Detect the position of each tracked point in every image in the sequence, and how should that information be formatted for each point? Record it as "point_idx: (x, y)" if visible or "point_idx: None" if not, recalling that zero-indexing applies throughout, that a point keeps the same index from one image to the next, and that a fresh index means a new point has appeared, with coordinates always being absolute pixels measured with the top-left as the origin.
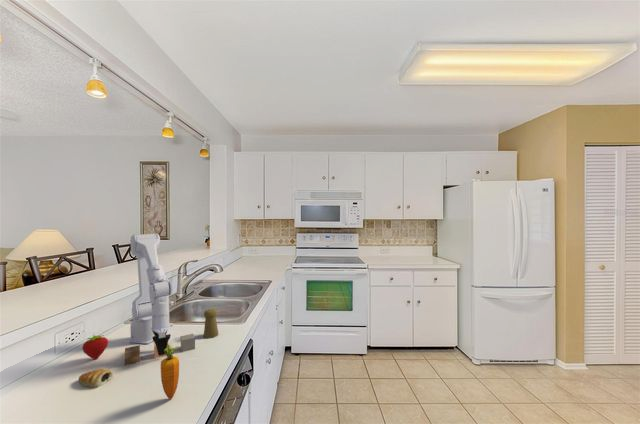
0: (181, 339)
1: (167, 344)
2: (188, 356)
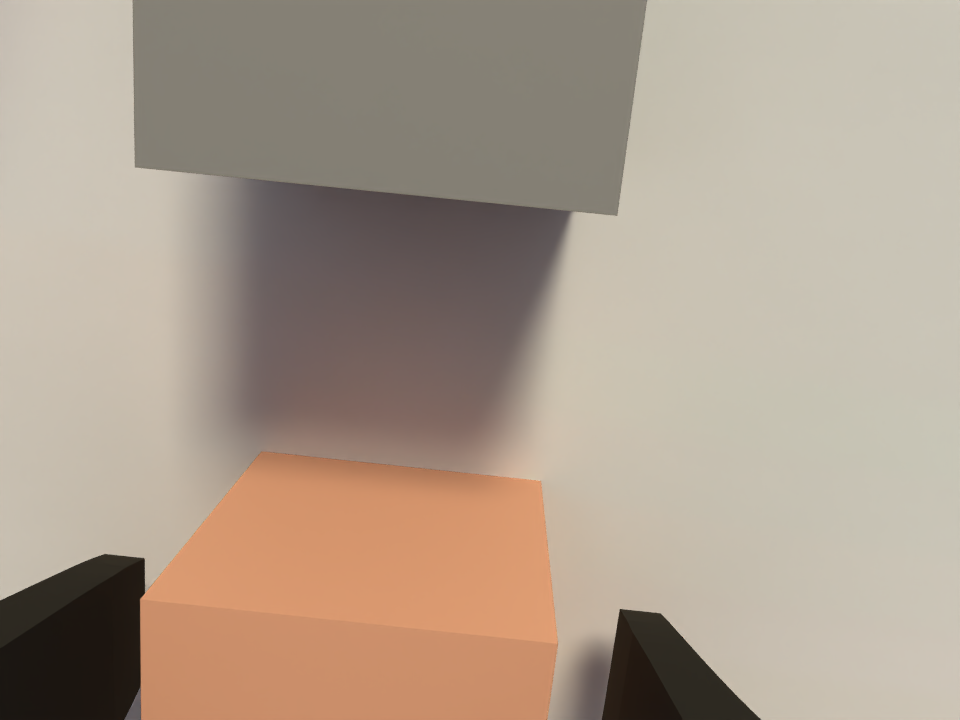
0: (436, 195)
1: (554, 654)
2: (953, 118)
